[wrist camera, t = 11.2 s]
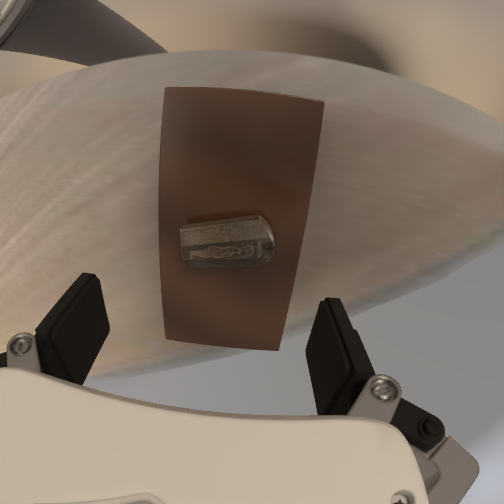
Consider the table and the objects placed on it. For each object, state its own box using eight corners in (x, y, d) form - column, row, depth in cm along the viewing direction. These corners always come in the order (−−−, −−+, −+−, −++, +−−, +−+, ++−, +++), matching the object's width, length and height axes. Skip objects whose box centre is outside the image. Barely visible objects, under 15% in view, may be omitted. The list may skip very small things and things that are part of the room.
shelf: (194, 99, 23) (164, 87, 15) (300, 109, 24) (324, 101, 15) (186, 283, 32) (165, 339, 23) (272, 292, 32) (278, 351, 24)
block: (181, 219, 18) (175, 228, 17) (271, 211, 18) (273, 220, 17) (190, 267, 20) (185, 279, 18) (274, 261, 20) (276, 273, 18)
